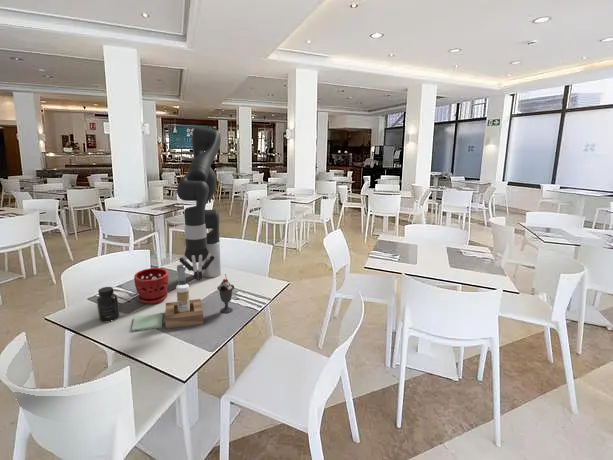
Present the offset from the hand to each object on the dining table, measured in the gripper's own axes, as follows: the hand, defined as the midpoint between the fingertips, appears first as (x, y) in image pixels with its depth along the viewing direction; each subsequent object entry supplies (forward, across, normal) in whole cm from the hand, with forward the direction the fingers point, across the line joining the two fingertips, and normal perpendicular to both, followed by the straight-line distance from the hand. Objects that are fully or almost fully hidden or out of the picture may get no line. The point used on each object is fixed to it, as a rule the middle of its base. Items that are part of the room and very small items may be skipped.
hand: (198, 280), depth 134 cm
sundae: (+16, -10, -4) cm, 19 cm away
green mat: (+16, +19, -1) cm, 25 cm away
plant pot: (+16, +19, -21) cm, 33 cm away
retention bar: (0, +6, -5) cm, 8 cm away
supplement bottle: (+16, +33, -9) cm, 38 cm away
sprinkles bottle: (+16, +6, -2) cm, 17 cm away
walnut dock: (+16, +6, -5) cm, 18 cm away
